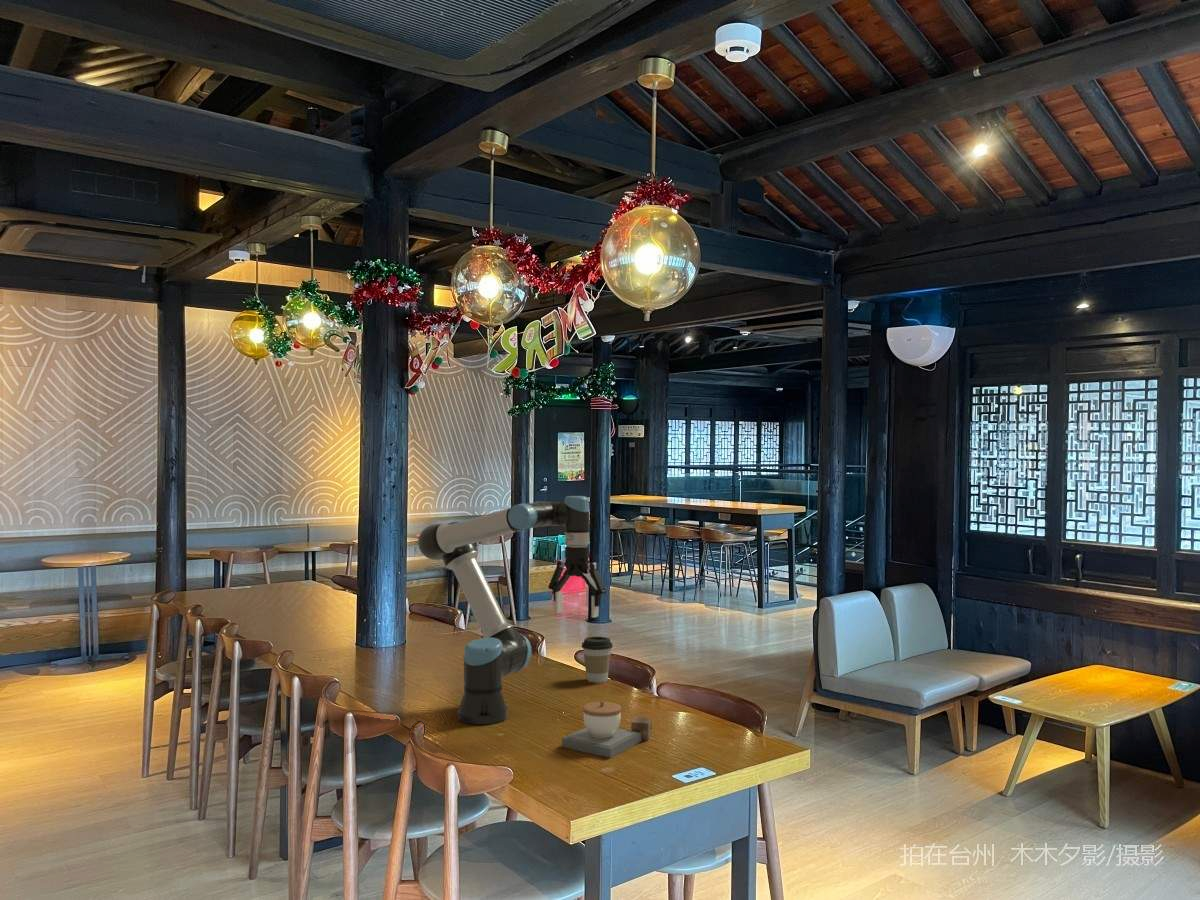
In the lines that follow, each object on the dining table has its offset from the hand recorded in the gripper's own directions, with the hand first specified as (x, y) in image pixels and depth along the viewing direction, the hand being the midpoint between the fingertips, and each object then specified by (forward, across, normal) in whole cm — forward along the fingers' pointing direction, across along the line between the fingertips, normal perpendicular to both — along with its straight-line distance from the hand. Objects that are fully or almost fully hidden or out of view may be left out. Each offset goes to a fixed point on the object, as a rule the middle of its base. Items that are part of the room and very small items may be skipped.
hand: (576, 614), depth 260 cm
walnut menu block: (+32, +26, -5) cm, 41 cm away
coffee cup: (+32, -19, +40) cm, 55 cm away
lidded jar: (+29, +20, -16) cm, 39 cm away
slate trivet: (+32, +20, -16) cm, 41 cm away
